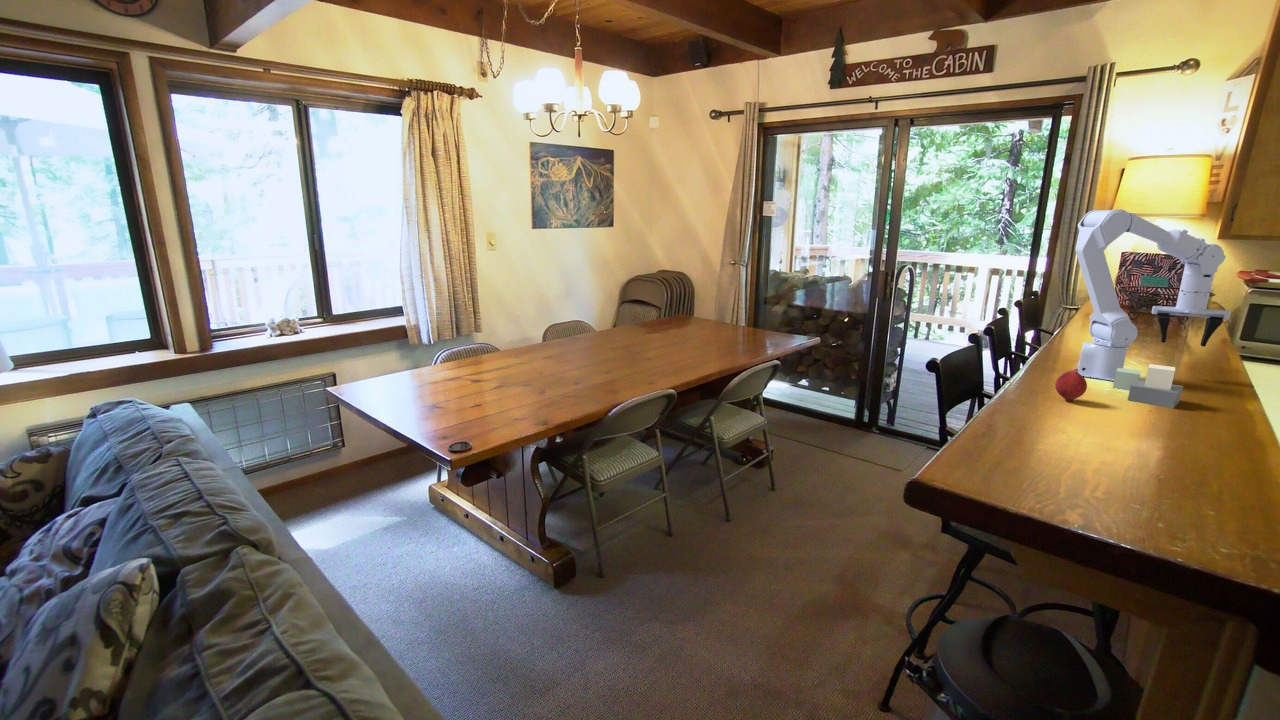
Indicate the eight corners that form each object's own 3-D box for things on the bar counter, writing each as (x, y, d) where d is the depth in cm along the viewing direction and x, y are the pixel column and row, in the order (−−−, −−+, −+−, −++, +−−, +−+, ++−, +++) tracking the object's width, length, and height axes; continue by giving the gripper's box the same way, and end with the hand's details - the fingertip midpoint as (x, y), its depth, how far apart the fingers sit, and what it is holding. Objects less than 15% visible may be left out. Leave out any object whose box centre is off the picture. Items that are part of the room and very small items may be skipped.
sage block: (1112, 388, 145) (1116, 371, 143) (1114, 384, 148) (1117, 367, 147) (1136, 392, 142) (1139, 374, 140) (1137, 388, 145) (1141, 370, 144)
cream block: (1144, 386, 133) (1148, 367, 132) (1145, 382, 136) (1149, 364, 135) (1170, 390, 130) (1174, 371, 129) (1171, 386, 133) (1175, 367, 132)
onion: (1056, 403, 133) (1062, 369, 131) (1050, 396, 139) (1055, 363, 137) (1087, 406, 131) (1093, 372, 129) (1079, 398, 136) (1085, 366, 134)
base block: (1127, 401, 135) (1130, 385, 134) (1135, 394, 140) (1138, 379, 139) (1172, 410, 129) (1176, 393, 128) (1179, 402, 134) (1183, 386, 133)
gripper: (1158, 291, 148) (1147, 343, 151) (1237, 295, 139) (1224, 350, 143) (1155, 288, 153) (1145, 338, 157) (1232, 292, 145) (1219, 345, 148)
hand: (1182, 343), depth 150 cm, fingers open, 7 cm apart
